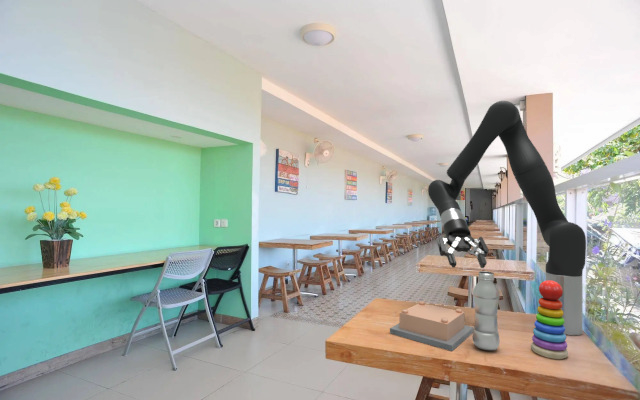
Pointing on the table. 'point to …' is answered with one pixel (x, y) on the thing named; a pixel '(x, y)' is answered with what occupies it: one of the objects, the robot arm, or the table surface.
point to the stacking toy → (550, 323)
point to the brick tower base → (434, 340)
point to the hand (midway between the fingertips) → (469, 266)
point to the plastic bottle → (486, 312)
